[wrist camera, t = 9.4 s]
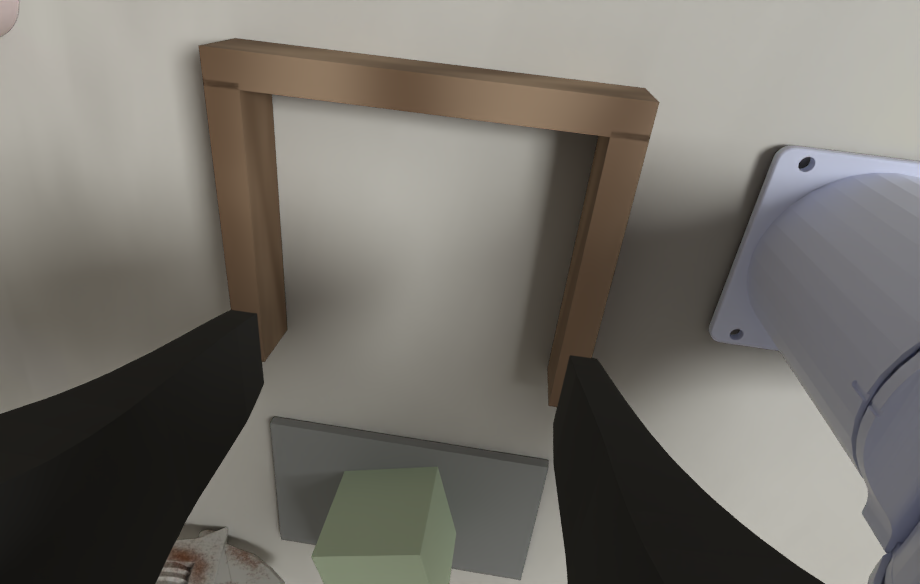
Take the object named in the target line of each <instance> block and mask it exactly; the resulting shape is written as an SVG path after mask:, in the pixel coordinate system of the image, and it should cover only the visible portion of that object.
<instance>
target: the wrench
mask: <svg viewBox="0 0 920 584" xmlns="http://www.w3.org/2000/svg"><path fill="white" fill-rule="evenodd" d="M227 538H228V527H225V528H223V529H220V530H218V531H214V530H203V531H201V532H200V533H199V536H198V538H194V539H183V540H176V542H175V544H174V546H173V548H172V550H171V552H170V554H169V556H168V558H167V560H166V562H165V564H164V567H163V569H162V571H161V573H160V575H159V577H158V580H157V582H156V584H285V582H284V581H283V580H282V579H281V578H280V576H279V575H278V574H277V573H276V572H275V571H274V570H273V569H272V568H271V567H270V566H269V565H267V564H266V563H265V562H263V561H262V560H261V559H260V558H258V557H257V556H256V555H254V554H252V553H249V552H246V551H244V550H241V549H238V548H236V547H233V546H231V545H228V544H227Z"/></svg>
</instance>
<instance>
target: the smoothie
mask: <svg viewBox="0 0 920 584" xmlns="http://www.w3.org/2000/svg"><path fill="white" fill-rule="evenodd" d="M18 10H19V0H0V36H2V35H4V34H6V33H7V32H8V31H9V30H10V29H11V28H12V27H13V25H14V24H15V21H16V19H17V15H18Z"/></svg>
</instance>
